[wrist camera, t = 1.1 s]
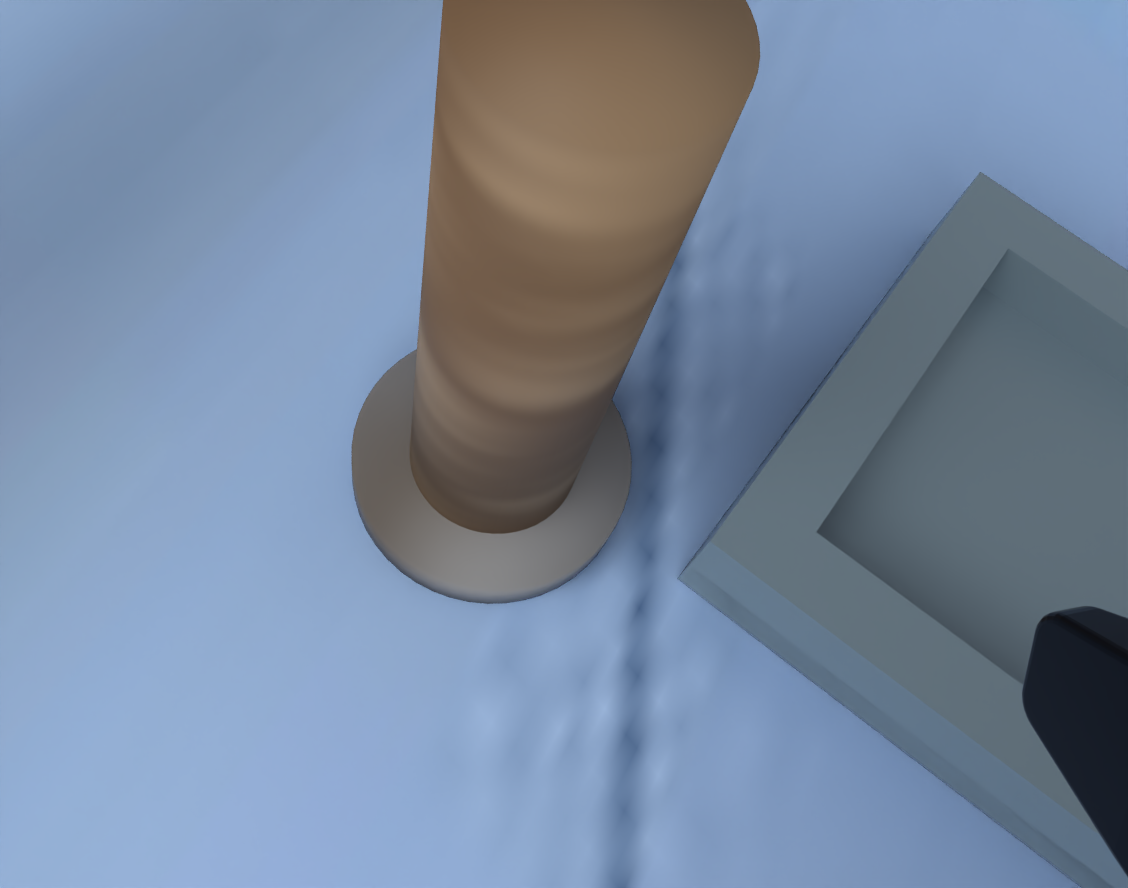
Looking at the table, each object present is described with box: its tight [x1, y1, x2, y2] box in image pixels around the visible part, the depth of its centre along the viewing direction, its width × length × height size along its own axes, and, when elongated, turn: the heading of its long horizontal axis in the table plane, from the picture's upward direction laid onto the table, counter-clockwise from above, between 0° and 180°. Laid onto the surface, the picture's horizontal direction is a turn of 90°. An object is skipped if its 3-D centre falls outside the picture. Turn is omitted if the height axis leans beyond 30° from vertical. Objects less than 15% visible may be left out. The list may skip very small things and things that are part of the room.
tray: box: [677, 172, 1128, 888], centre depth 24 cm, size 13×13×2 cm
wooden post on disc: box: [352, 0, 760, 604], centre depth 18 cm, size 6×6×13 cm
